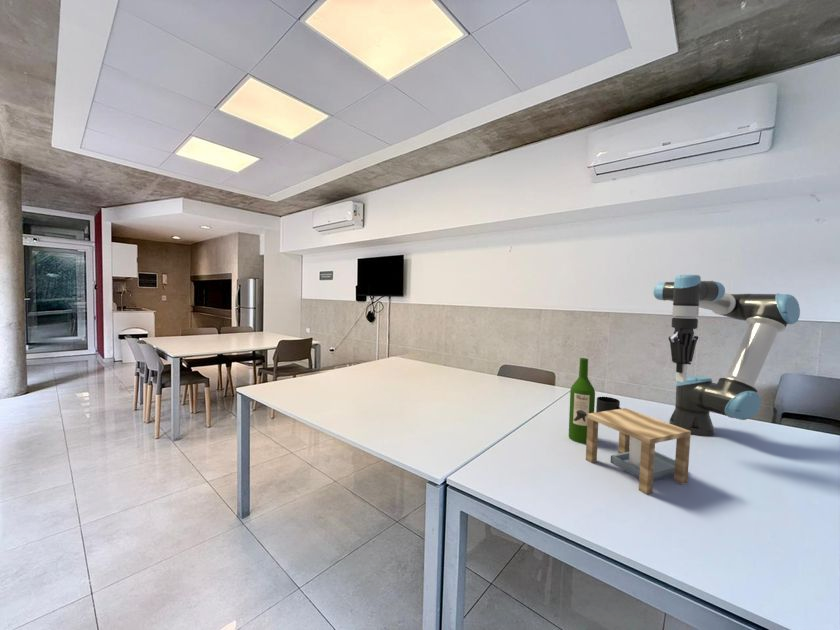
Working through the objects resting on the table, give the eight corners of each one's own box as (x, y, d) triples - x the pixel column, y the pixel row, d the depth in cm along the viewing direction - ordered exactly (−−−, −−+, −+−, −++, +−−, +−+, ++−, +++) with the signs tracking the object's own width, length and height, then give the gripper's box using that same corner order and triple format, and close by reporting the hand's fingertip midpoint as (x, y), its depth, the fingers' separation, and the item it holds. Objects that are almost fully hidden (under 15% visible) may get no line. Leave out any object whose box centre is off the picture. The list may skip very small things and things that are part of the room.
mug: (616, 425, 151) (617, 405, 151) (591, 416, 162) (592, 398, 161) (628, 422, 156) (629, 402, 155) (603, 413, 166) (604, 395, 166)
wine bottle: (568, 441, 135) (572, 359, 133) (568, 432, 143) (571, 355, 141) (594, 445, 131) (597, 361, 129) (591, 436, 140) (595, 357, 138)
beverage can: (643, 473, 110) (645, 436, 109) (624, 464, 115) (626, 429, 114) (654, 468, 113) (656, 433, 112) (635, 460, 118) (637, 426, 117)
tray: (646, 454, 124) (647, 447, 124) (685, 472, 112) (685, 464, 112) (610, 462, 118) (610, 455, 118) (646, 482, 106) (647, 474, 106)
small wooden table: (622, 451, 126) (625, 408, 125) (687, 483, 106) (690, 431, 105) (585, 459, 120) (587, 413, 119) (646, 494, 99) (649, 439, 98)
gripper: (685, 316, 130) (681, 377, 132) (662, 316, 126) (658, 380, 127) (708, 317, 123) (703, 382, 125) (683, 318, 119) (679, 385, 120)
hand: (680, 381), depth 126 cm, fingers closed
